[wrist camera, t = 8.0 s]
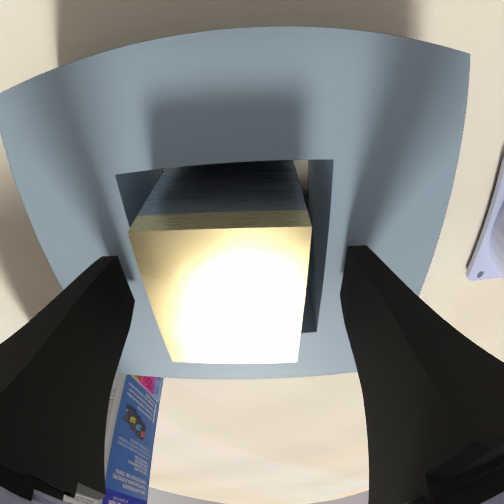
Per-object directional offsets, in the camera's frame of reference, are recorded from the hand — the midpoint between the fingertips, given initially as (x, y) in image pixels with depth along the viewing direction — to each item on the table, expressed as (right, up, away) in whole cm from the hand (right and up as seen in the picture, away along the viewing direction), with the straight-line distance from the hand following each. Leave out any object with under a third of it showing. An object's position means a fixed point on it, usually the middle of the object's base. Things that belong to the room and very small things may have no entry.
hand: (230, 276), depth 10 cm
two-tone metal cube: (0, +3, +4) cm, 5 cm away
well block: (0, +3, +4) cm, 5 cm away
